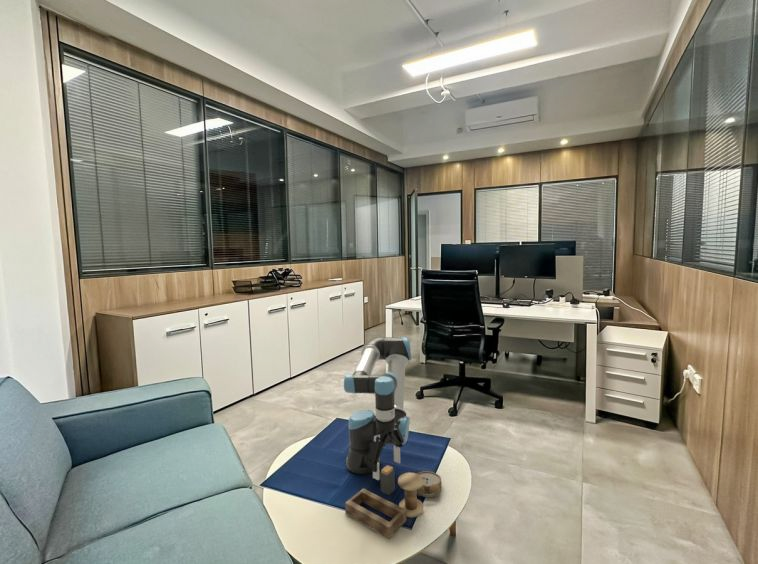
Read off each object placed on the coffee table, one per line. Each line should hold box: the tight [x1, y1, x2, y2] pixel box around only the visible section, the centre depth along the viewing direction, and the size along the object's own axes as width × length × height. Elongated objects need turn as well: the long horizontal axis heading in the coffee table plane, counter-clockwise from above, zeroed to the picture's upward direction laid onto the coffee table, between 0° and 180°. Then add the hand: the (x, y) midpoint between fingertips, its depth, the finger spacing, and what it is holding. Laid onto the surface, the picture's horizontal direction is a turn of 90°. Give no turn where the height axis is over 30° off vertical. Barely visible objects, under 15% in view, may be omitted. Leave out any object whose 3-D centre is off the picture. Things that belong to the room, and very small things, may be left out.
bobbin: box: [397, 472, 424, 518], centre depth 132 cm, size 9×9×11 cm
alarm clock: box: [415, 470, 442, 498], centre depth 143 cm, size 11×5×15 cm
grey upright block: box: [379, 464, 396, 496], centre depth 142 cm, size 4×4×9 cm
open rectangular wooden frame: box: [344, 488, 407, 539], centre depth 129 cm, size 20×10×4 cm, turn 51°
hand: (387, 470), depth 142 cm, fingers open, 13 cm apart
